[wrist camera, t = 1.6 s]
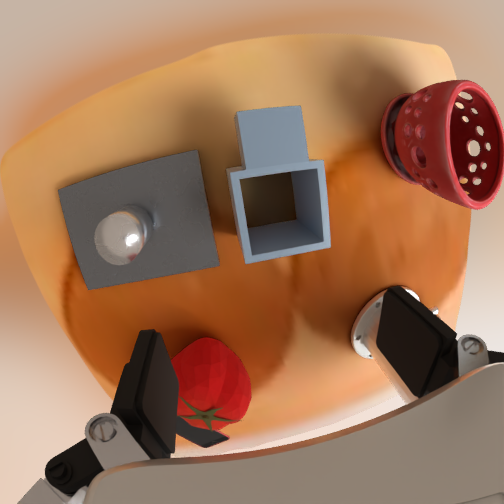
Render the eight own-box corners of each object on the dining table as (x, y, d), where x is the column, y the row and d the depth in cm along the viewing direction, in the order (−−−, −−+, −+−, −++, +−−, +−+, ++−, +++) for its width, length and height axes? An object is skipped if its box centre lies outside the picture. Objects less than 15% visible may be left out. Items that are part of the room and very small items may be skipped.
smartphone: (204, 449, 42) (150, 419, 37) (204, 446, 43) (150, 416, 38) (232, 438, 42) (177, 407, 37) (231, 436, 42) (177, 404, 37)
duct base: (198, 150, 25) (192, 147, 19) (219, 260, 30) (221, 287, 24) (64, 188, 24) (32, 197, 18) (92, 284, 29) (71, 312, 22)
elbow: (288, 118, 25) (315, 104, 18) (302, 223, 29) (330, 247, 22) (218, 126, 25) (220, 114, 17) (237, 235, 29) (245, 264, 22)
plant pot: (373, 191, 29) (443, 214, 18) (366, 84, 25) (434, 61, 14) (443, 190, 31) (507, 209, 19) (439, 100, 26) (504, 96, 15)
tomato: (247, 322, 33) (260, 382, 23) (245, 389, 37) (254, 444, 28) (157, 323, 31) (142, 382, 22) (171, 390, 36) (166, 445, 26)
